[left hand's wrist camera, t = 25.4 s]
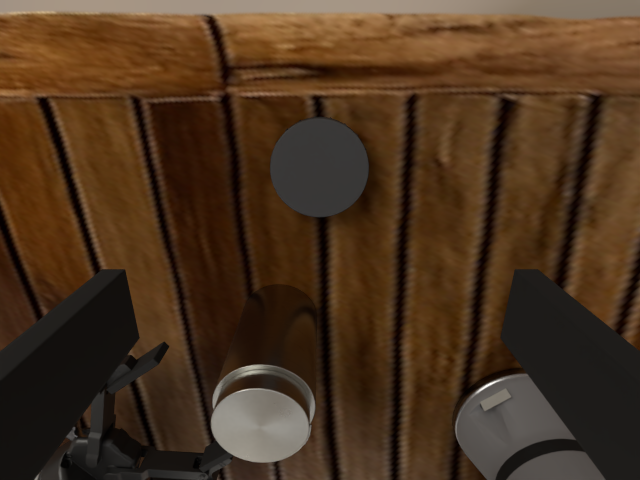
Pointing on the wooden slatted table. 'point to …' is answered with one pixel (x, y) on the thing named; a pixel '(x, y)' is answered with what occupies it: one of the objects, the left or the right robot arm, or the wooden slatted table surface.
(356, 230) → the wooden slatted table surface
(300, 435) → the jar
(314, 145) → the lid
